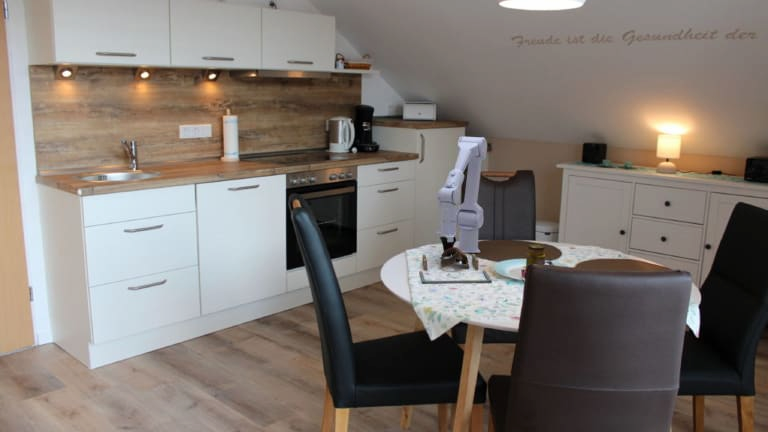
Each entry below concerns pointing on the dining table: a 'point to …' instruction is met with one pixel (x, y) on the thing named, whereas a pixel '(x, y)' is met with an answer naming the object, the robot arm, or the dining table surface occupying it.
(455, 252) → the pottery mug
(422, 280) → the frame
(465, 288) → the dining table surface
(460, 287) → the dining table surface
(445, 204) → the robot arm
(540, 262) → the condiment
